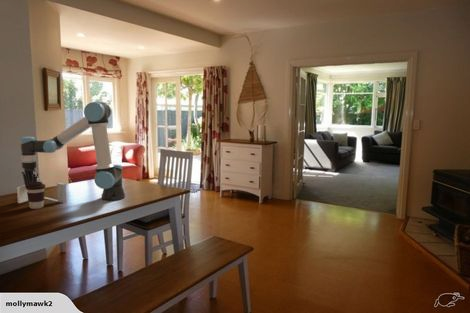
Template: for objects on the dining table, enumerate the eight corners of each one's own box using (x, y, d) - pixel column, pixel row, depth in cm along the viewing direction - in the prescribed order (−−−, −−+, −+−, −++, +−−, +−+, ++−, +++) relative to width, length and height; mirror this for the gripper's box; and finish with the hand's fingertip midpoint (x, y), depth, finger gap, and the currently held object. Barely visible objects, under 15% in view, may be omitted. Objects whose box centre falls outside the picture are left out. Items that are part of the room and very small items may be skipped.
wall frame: (37, 195, 222) (36, 177, 221) (66, 202, 209) (65, 183, 207) (33, 195, 220) (32, 178, 218) (63, 203, 207) (62, 184, 205)
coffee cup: (23, 208, 194) (21, 183, 192) (38, 203, 203) (36, 180, 201) (35, 210, 191) (33, 185, 188) (49, 206, 200) (48, 182, 198)
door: (39, 195, 220) (38, 180, 218) (43, 196, 219) (42, 181, 218) (16, 202, 203) (15, 186, 202) (19, 203, 203) (18, 186, 201)
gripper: (16, 161, 202) (19, 198, 205) (29, 163, 196) (31, 201, 200) (28, 160, 209) (31, 195, 212) (41, 161, 203) (43, 198, 206)
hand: (31, 198), depth 206 cm, fingers closed
